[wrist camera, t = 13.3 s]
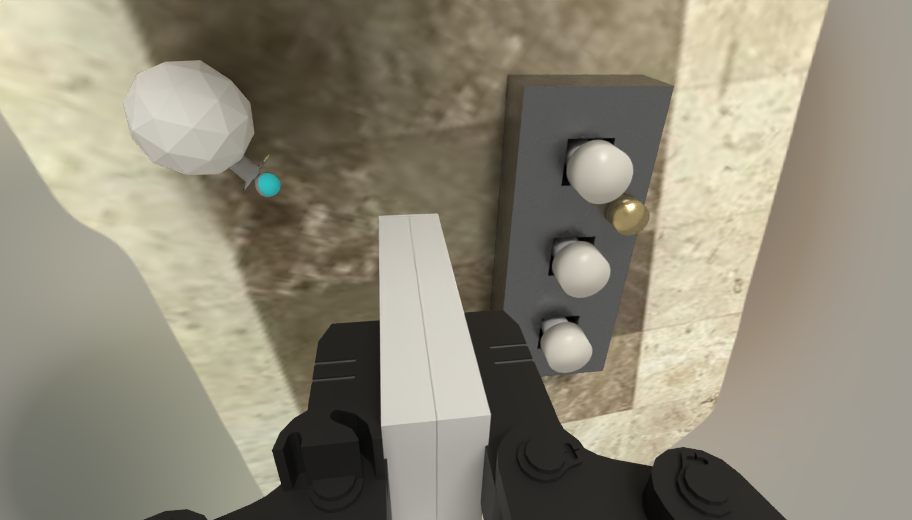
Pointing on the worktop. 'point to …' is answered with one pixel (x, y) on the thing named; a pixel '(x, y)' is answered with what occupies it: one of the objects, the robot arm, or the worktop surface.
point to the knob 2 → (597, 169)
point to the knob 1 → (564, 344)
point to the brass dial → (627, 215)
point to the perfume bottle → (194, 122)
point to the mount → (568, 197)
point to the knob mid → (579, 267)
